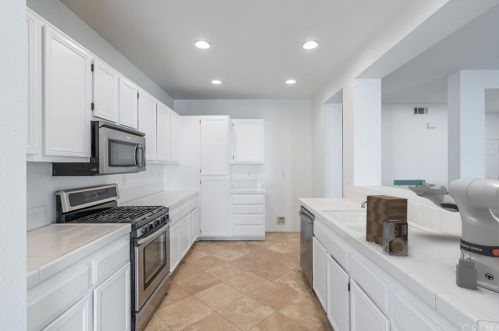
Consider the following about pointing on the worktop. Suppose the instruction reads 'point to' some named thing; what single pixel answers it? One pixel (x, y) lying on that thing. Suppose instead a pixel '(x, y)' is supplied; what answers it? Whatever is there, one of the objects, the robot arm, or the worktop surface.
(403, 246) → the coffee box
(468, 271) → the power adapter
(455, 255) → the worktop surface
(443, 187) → the robot arm
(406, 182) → the teal bar
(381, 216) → the walnut stand
